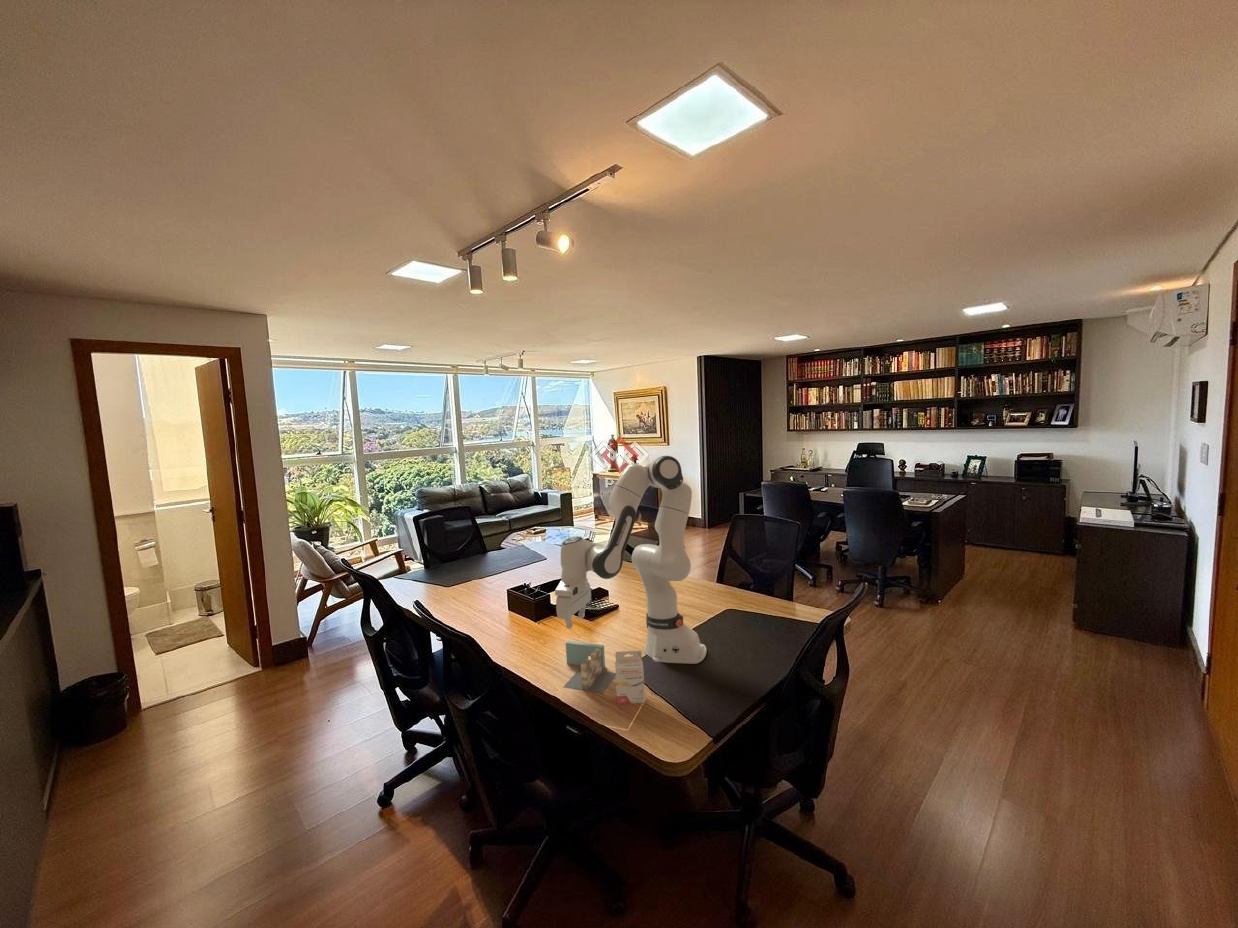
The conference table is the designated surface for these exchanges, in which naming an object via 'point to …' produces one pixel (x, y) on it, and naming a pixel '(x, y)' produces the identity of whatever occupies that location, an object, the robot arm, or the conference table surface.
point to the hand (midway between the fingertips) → (575, 622)
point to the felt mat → (597, 685)
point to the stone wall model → (591, 669)
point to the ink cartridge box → (629, 678)
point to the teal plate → (582, 652)
